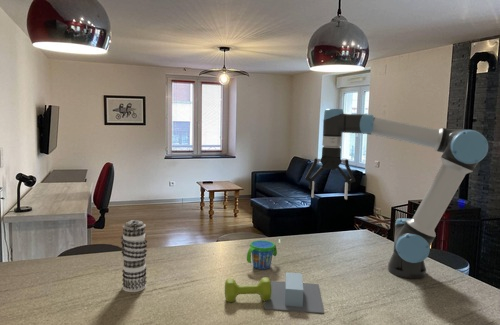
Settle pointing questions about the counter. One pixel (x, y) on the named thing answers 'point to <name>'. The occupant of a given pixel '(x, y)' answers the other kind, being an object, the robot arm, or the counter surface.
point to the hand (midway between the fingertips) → (329, 198)
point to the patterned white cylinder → (134, 256)
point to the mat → (310, 305)
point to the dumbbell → (248, 289)
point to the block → (293, 289)
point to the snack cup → (261, 253)
